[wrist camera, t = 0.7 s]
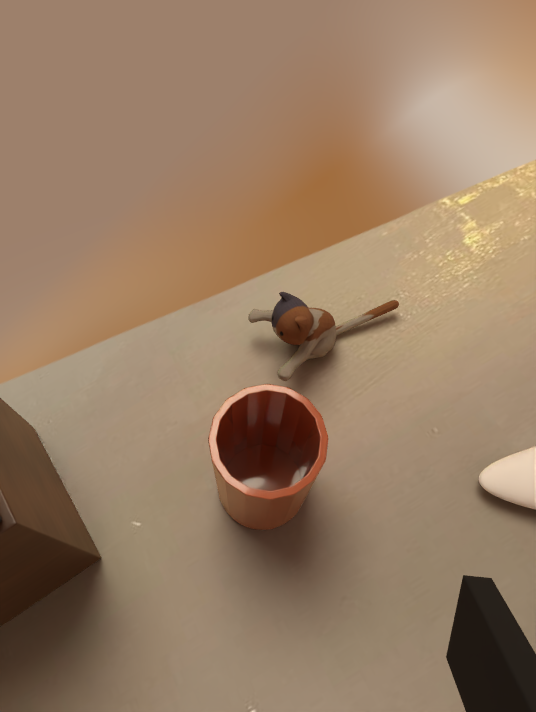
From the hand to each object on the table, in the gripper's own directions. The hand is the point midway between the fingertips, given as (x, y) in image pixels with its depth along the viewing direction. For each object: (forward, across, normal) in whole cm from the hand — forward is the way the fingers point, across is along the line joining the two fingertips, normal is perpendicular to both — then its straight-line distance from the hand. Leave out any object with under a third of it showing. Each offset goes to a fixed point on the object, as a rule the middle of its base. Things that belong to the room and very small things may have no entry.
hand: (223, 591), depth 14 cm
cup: (+26, 0, -11) cm, 28 cm away
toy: (+36, +6, 0) cm, 36 cm away
